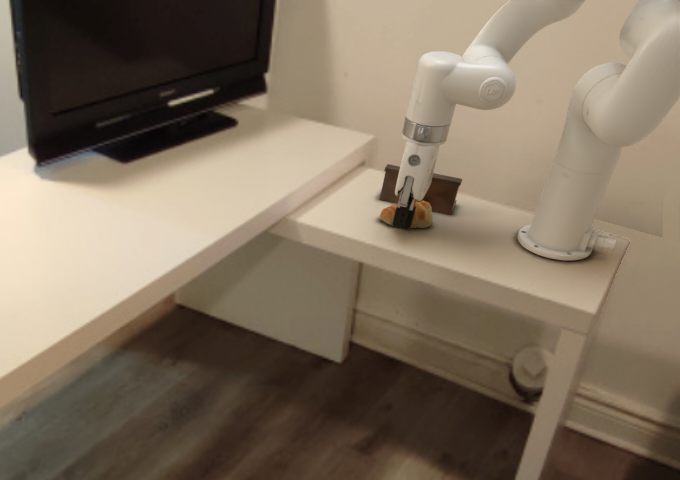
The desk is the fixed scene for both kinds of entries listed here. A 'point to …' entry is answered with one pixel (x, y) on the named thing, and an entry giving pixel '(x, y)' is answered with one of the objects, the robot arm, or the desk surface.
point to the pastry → (420, 218)
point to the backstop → (437, 195)
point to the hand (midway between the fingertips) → (401, 226)
